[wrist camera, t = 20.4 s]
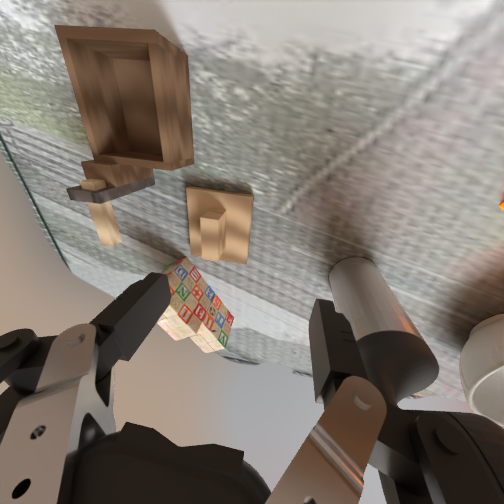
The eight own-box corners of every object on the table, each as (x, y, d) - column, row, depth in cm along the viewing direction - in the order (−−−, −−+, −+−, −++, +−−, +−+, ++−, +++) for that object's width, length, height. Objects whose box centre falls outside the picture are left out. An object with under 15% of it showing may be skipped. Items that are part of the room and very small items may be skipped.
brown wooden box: (195, 189, 37) (156, 212, 26) (132, 181, 39) (70, 199, 28) (187, 55, 28) (121, 4, 17) (104, 50, 29) (-8, -1, 18)
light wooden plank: (122, 241, 34) (113, 246, 32) (111, 239, 34) (101, 244, 32) (104, 180, 29) (92, 182, 27) (92, 178, 29) (79, 181, 27)
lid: (248, 257, 44) (241, 278, 37) (195, 248, 45) (179, 267, 38) (254, 193, 36) (247, 206, 30) (192, 184, 37) (171, 194, 31)
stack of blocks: (235, 317, 54) (221, 361, 43) (216, 322, 56) (199, 366, 46) (186, 255, 46) (155, 291, 35) (167, 264, 48) (133, 300, 38)
